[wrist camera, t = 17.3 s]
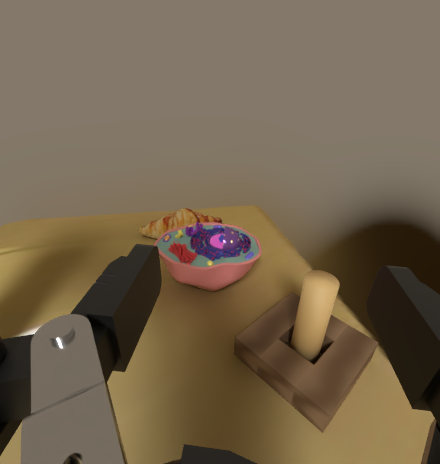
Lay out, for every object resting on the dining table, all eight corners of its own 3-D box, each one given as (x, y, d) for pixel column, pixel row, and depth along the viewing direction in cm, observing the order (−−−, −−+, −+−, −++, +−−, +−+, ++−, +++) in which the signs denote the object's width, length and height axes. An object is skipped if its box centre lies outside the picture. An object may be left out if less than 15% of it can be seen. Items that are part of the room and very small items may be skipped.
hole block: (234, 353, 40) (235, 337, 39) (289, 307, 49) (292, 292, 47) (322, 432, 31) (329, 415, 30) (371, 359, 40) (378, 342, 38)
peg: (282, 356, 40) (298, 279, 33) (298, 341, 42) (315, 266, 36) (307, 375, 37) (329, 296, 31) (322, 358, 40) (345, 281, 33)
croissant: (142, 255, 69) (138, 237, 62) (138, 222, 74) (135, 203, 67) (223, 242, 74) (228, 225, 67) (215, 213, 79) (218, 194, 73)
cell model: (170, 251, 64) (167, 206, 59) (257, 258, 62) (262, 212, 57) (145, 302, 49) (138, 248, 44) (258, 312, 48) (265, 257, 42)
